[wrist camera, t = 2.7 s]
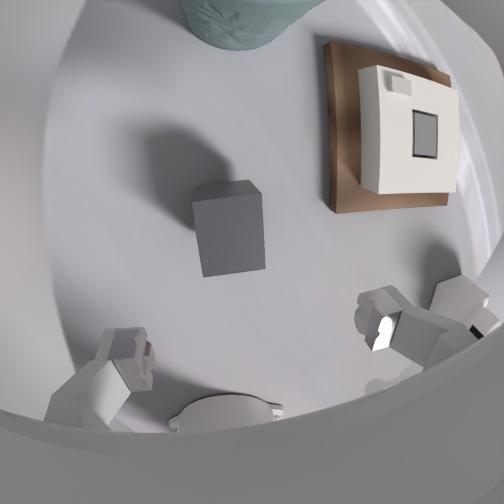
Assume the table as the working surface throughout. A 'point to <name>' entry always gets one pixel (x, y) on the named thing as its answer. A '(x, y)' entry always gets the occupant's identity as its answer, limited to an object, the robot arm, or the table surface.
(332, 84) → the mounting board
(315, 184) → the table surface
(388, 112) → the socket
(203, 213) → the plug
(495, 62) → the table surface
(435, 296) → the medicine bottle
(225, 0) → the teal cup
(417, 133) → the panel
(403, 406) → the robot arm
